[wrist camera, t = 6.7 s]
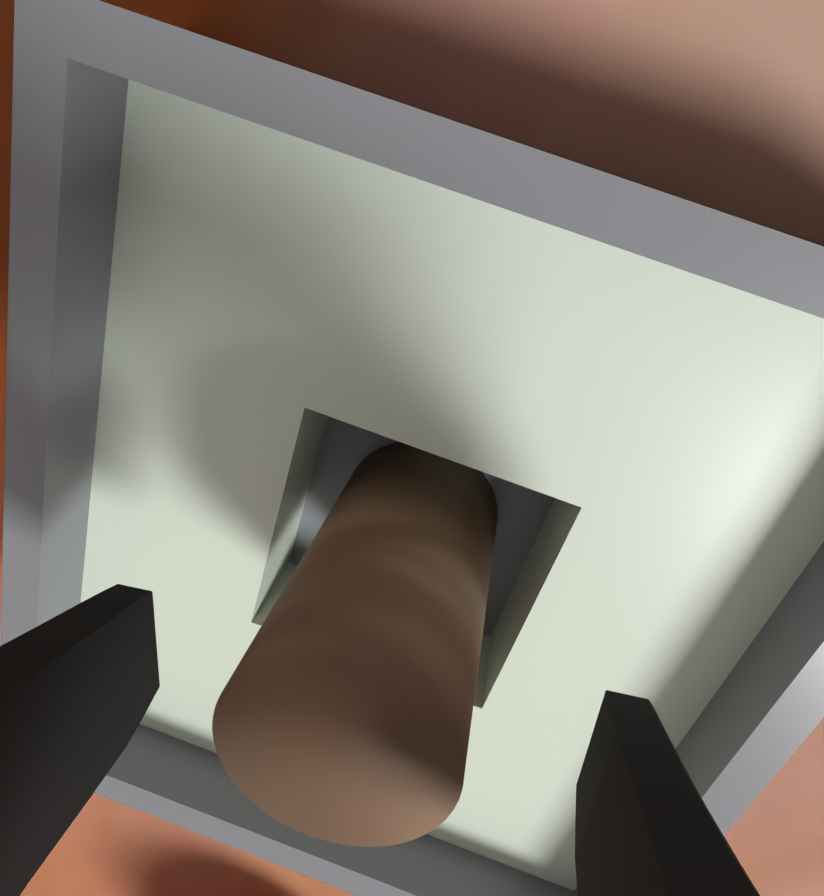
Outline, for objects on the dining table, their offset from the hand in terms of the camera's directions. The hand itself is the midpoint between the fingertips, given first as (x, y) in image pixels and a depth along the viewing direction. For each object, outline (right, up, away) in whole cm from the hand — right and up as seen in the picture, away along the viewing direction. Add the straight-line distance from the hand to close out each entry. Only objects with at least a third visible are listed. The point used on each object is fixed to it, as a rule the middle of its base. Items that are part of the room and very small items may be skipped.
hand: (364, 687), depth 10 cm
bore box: (+1, +2, +6) cm, 6 cm away
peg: (+1, +2, +5) cm, 6 cm away
